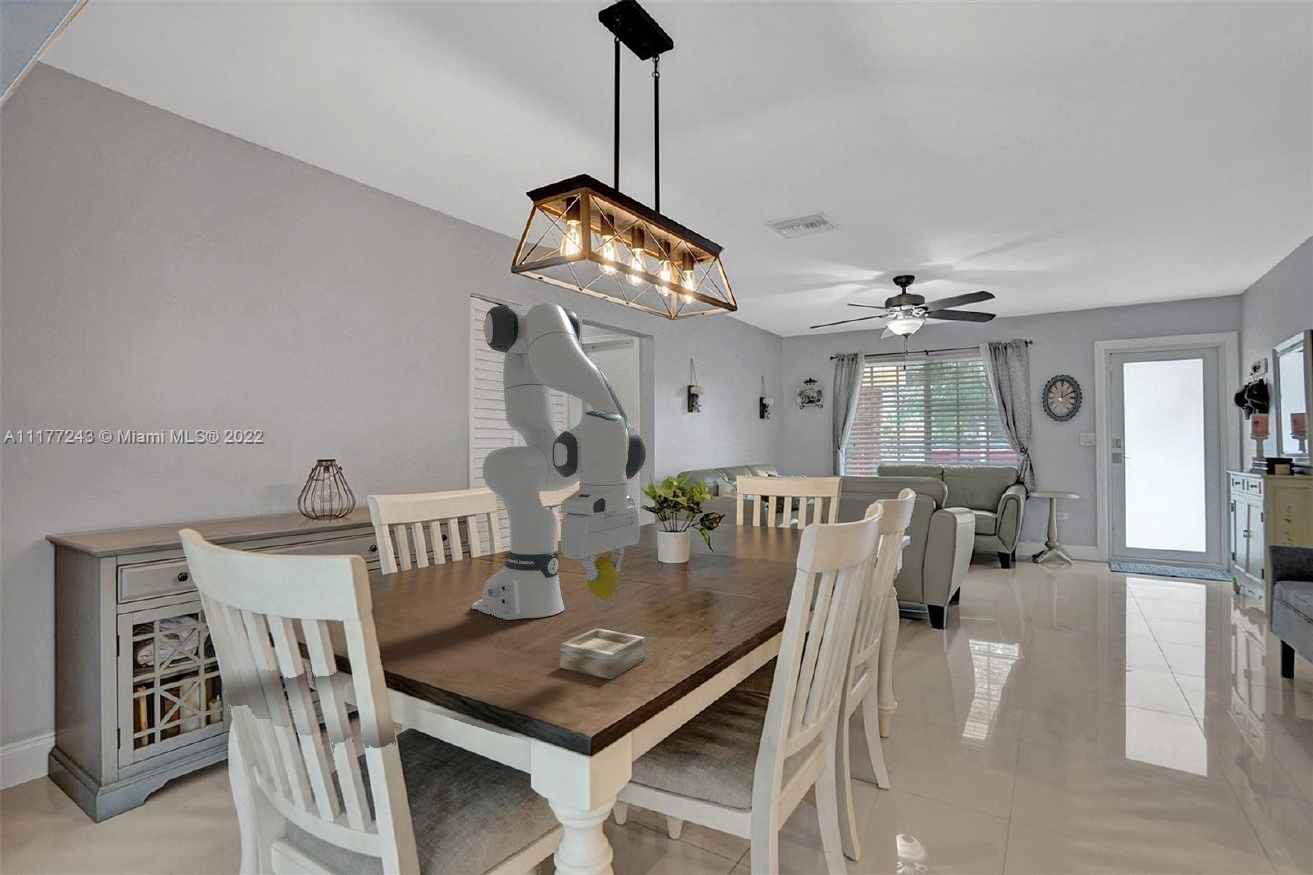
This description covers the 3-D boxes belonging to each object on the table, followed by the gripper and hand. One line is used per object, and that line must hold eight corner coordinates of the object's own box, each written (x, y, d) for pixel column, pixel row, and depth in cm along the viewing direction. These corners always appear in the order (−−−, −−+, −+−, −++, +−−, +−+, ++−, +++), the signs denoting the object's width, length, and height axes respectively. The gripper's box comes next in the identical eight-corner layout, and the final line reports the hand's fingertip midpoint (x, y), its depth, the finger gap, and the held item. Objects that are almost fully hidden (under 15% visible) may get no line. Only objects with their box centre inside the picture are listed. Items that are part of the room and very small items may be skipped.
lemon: (619, 594, 119) (615, 552, 118) (619, 603, 113) (615, 558, 113) (589, 597, 118) (586, 554, 118) (588, 606, 113) (584, 561, 113)
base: (560, 667, 114) (560, 643, 114) (596, 649, 123) (596, 628, 123) (611, 679, 108) (611, 654, 108) (644, 659, 117) (644, 637, 117)
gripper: (620, 494, 126) (620, 564, 126) (554, 503, 108) (554, 584, 108) (647, 496, 123) (647, 567, 123) (584, 505, 105) (584, 589, 105)
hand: (603, 575), depth 116 cm, fingers closed on lemon, 5 cm apart
